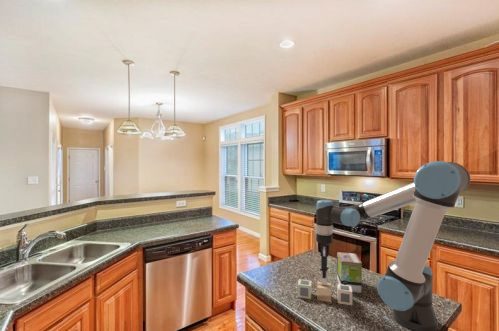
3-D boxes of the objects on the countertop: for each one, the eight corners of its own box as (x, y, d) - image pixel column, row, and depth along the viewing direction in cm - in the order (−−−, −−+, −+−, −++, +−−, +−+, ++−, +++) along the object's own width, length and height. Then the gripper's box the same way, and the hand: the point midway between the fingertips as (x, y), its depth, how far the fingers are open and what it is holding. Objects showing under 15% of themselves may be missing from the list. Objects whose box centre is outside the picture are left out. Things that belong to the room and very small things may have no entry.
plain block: (331, 302, 114) (331, 289, 114) (317, 300, 116) (317, 287, 116) (330, 296, 120) (330, 283, 120) (317, 294, 122) (317, 281, 122)
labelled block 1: (310, 299, 117) (310, 286, 117) (297, 297, 118) (297, 284, 118) (311, 293, 122) (311, 280, 123) (298, 291, 124) (299, 278, 124)
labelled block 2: (352, 305, 111) (352, 291, 111) (337, 303, 113) (338, 289, 113) (351, 298, 117) (351, 285, 117) (337, 296, 119) (337, 283, 119)
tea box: (362, 293, 123) (362, 262, 123) (340, 291, 125) (340, 261, 125) (355, 280, 137) (355, 252, 137) (336, 278, 139) (336, 251, 139)
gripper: (333, 237, 111) (332, 291, 111) (332, 230, 123) (332, 279, 123) (315, 236, 113) (315, 289, 113) (316, 229, 126) (316, 277, 125)
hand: (324, 283), depth 118 cm, fingers closed
